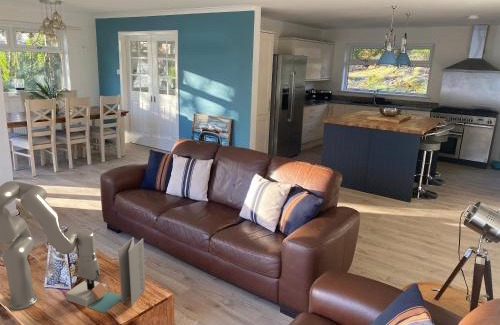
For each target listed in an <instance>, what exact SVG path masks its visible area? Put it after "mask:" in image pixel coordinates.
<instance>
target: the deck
mask: <svg viewBox="0 0 500 325" xmlns="http://www.w3.org/2000/svg"><path fill="white" fill-rule="evenodd" d="M99 283H101V284H102V285H103V286H104V287H105V289H106V290H107V291H108V285H107V284H106V283H102V282H100V281H94V286H97V285H98V284H99ZM65 300H66V301H69V302H72V303H74V304H77V305H80V306H83V307H85V308H88V307H89V306H90V305H92V304H93V303H94V302H96V301H97V299H96V298H95V297H94V295H93V294H92V293H91V292H90V290H87V283H86V281H85V280H84V281H82V282H80V283H79V284H77V285H76V286H74V287H72V288H71V289H70V290H68V291H67V292H65Z"/></svg>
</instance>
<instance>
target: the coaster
mask: <svg viewBox="0 0 500 325" xmlns="http://www.w3.org/2000/svg"><path fill="white" fill-rule="evenodd" d="M101 283H102V282H100V283H99V284H98V285H97V286H95V287H94V288H93V289H92V290H90V292H91V293H92V294H93V295H94V297H95V298H96V299H97V300H99V299H100V298H101V297H102V296H103V295H105V294H106V293H107V292H109V291H108V289H107V290H106V289H105V287H104V286H103V285H102V284H101ZM97 300H96V301H97Z"/></svg>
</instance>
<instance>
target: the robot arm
mask: <svg viewBox="0 0 500 325" xmlns="http://www.w3.org/2000/svg"><path fill="white" fill-rule="evenodd" d="M47 196H48V193H47V190H46V189H45V188H43V187H42V186H40V185H37V184H32V183H26V182H21V181H13V180H10V181H7V182H4V183H3V184H1V185H0V243H1V244H3V245H7V247H6V248H5V250H4V251H3V254H2V262H3V264H4V266H5V270H6V274H7V281H8V286H9V292H8V293H7V296H8V297H10V300H8V301H7V302H8V303H7V306H8V308H9V309H10V310H13V311H14V310H15V311H17V310H18V311H20V310H24V309H27V308H29V307H31V306H33V305H35V303H37V302H38V300H39V296H38V294H37V293H35V292H34V286H33V278H32V271H31V265H30V263H29V261H28V256H29V255H30V253H31V252H32V250H33V249H34V247H35V240H34V237H33V235H32V233H31V230H30V228H29V225H28V224H27V222H26V220H25V219H24V218H23V217H21V216H19V215H11V212H10V211H9V209H8V208H7V206H8V205H10V204H11V203H12V202H13V201H15V200H16V199H17V200H19V201H20V204H21V206H22V207H23V208H24V210H25V211H27V212H28V213H29V215H30V216H31V217H33V219H34V220H35V221H36V222H37V223H38V224H39V225H40V226H41V230H42V232H43V235H44V236H45V238H46V240H47V242H48V243H49V244H50V245H51V246H52V248H54V249H55V250H56V252H58V253H59V254H61V255H70V254H72V253H73V252H74V251H75V248H76V247H77V248H78V255H79V257H78V262H77V272H78V277H80V278H83V279H84V281H86V283H87V290H92V289H93V288H94V287H95V286H94V281H96V282H99V280H100V275H101V270H100V265H99V261H98V258H97V249H96V239H95V237H96V236H95V233H94V232H93V231H91V230H85V231H79V230H68V231H66V232H64V233H63V232H62V230H61V228H60V226H59V214H58V212H57V211H56V210H55V209H54V208H53V207H52V206H51V205H50V204H49V203H48V202H47V201H46V199H47ZM8 244H9V245H8Z"/></svg>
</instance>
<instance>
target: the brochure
mask: <svg viewBox="0 0 500 325" xmlns="http://www.w3.org/2000/svg"><path fill="white" fill-rule="evenodd" d="M134 239H135V237H134V236H133V237H131V239H129V240H127V241H126V243H125V244H123V245H122V247H120V248H119V249H118V250H117V251H118V252H117V253H118V264H119V265H118V268H119V282H120V295H121V305H124V304H125V302H127V300H129V298H130V306H131V307H134V305H135V303H136V302H137V301H138V300H139V299H140V297H141V296H142V295H143V294H144V292H145V291H146V270H145V269H146V268H145V253H144V252H145V250H144V249H145V248H144V238H141V239H140V240H139V241H138V242H137V243H136V244H135V240H134Z"/></svg>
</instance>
